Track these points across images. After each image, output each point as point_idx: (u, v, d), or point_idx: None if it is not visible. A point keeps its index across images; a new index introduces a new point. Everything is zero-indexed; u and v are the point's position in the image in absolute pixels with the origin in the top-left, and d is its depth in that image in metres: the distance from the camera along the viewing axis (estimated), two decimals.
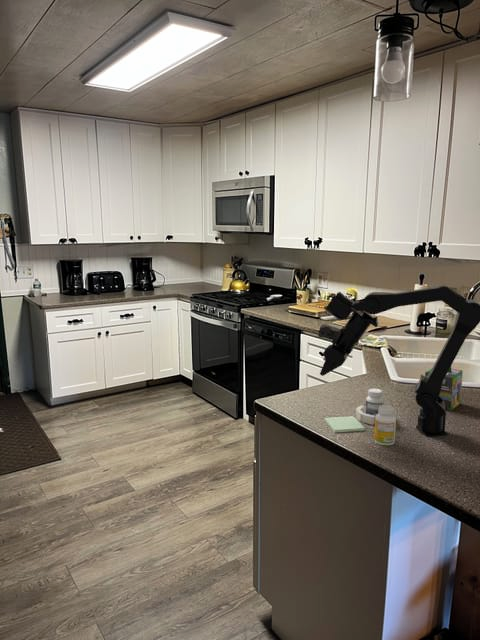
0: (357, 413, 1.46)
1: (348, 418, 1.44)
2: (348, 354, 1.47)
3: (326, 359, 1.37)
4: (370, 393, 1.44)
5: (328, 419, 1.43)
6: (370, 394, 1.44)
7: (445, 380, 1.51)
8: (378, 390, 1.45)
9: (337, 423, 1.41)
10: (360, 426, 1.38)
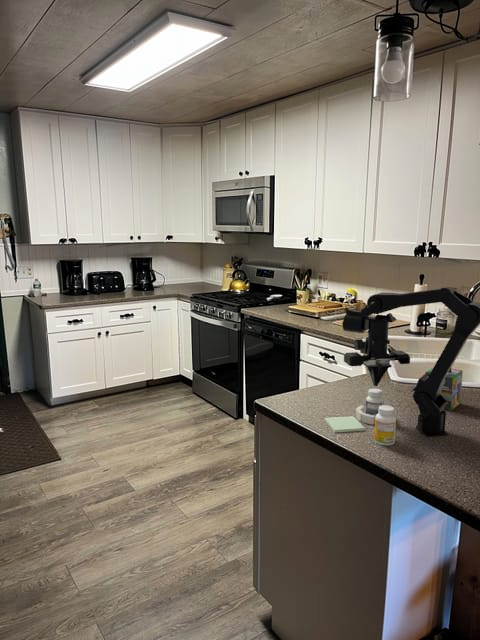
0: (357, 413, 1.46)
1: (348, 418, 1.44)
2: (384, 366, 1.41)
3: (367, 367, 1.44)
4: (370, 393, 1.44)
5: (328, 419, 1.43)
6: (370, 394, 1.44)
7: (446, 380, 1.51)
8: (378, 390, 1.45)
9: (337, 423, 1.41)
10: (360, 426, 1.38)
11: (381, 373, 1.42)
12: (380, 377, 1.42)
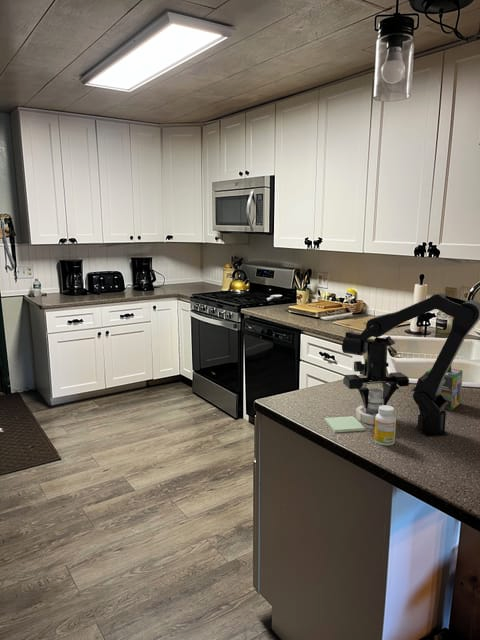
0: (357, 413, 1.46)
1: (348, 418, 1.44)
2: (392, 388, 1.42)
3: None
4: (370, 393, 1.44)
5: (328, 419, 1.43)
6: (370, 394, 1.44)
7: (445, 380, 1.51)
8: (378, 390, 1.45)
9: (337, 423, 1.41)
10: (360, 426, 1.38)
11: (388, 395, 1.43)
12: (387, 399, 1.44)
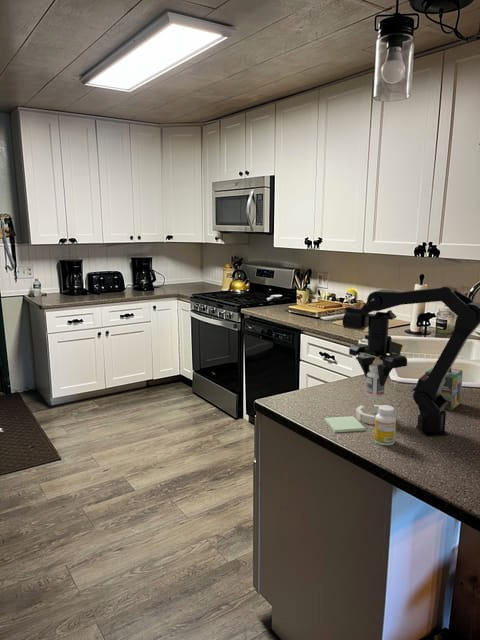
0: (357, 413, 1.46)
1: (348, 418, 1.44)
2: (378, 365, 1.38)
3: None
4: None
5: (328, 419, 1.43)
6: None
7: (445, 380, 1.51)
8: None
9: (337, 423, 1.41)
10: (360, 426, 1.38)
11: (379, 372, 1.40)
12: (380, 377, 1.40)
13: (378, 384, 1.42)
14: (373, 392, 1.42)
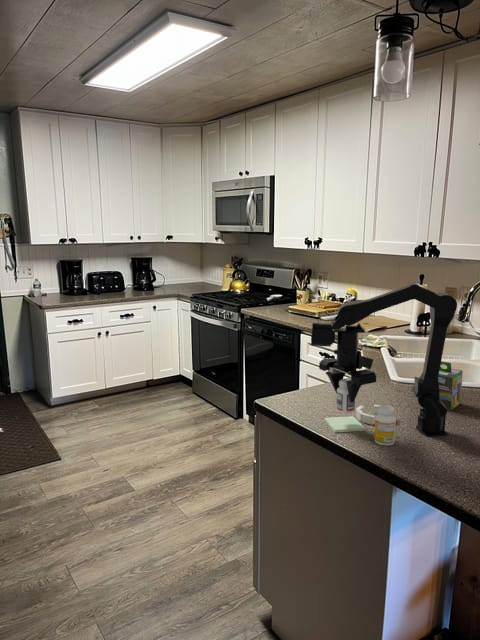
0: (357, 413, 1.46)
1: (348, 418, 1.44)
2: (347, 381, 1.33)
3: None
4: None
5: (328, 419, 1.43)
6: None
7: (445, 380, 1.51)
8: None
9: (337, 423, 1.41)
10: (360, 426, 1.38)
11: (348, 388, 1.35)
12: (349, 393, 1.35)
13: (348, 400, 1.37)
14: (343, 409, 1.38)
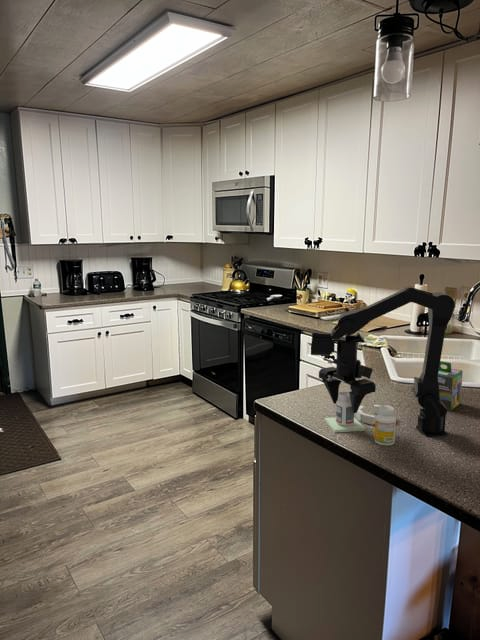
0: (357, 413, 1.46)
1: None
2: (350, 392, 1.33)
3: None
4: None
5: (328, 419, 1.43)
6: None
7: (445, 380, 1.51)
8: (347, 395, 1.38)
9: None
10: (360, 426, 1.38)
11: (351, 399, 1.34)
12: (352, 404, 1.34)
13: (347, 413, 1.38)
14: (342, 421, 1.38)
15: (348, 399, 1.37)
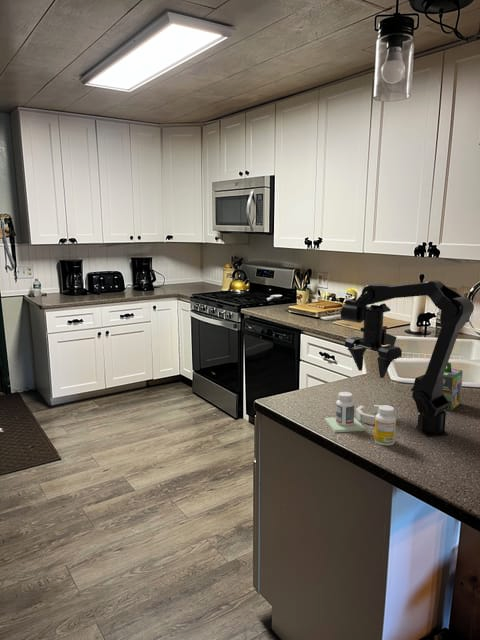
0: (357, 413, 1.46)
1: None
2: (379, 357, 1.41)
3: None
4: None
5: (328, 419, 1.43)
6: None
7: (445, 380, 1.51)
8: (347, 395, 1.38)
9: None
10: (360, 426, 1.38)
11: (379, 365, 1.43)
12: (380, 369, 1.43)
13: (347, 413, 1.38)
14: (342, 421, 1.38)
15: (348, 399, 1.37)
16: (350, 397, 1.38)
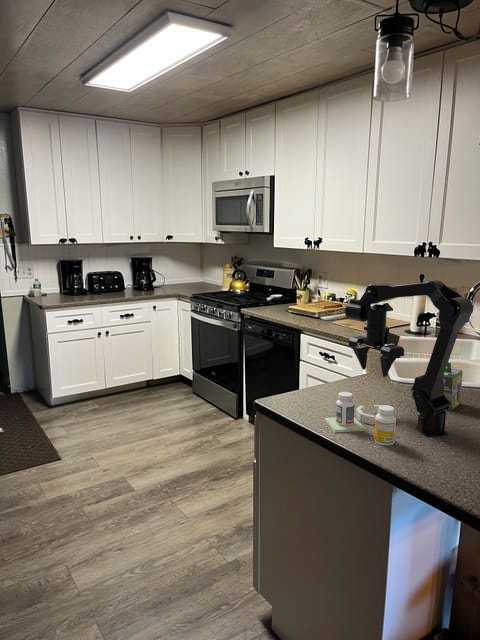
0: (357, 413, 1.46)
1: None
2: (381, 356, 1.43)
3: None
4: None
5: (328, 419, 1.43)
6: None
7: (445, 380, 1.51)
8: (347, 395, 1.38)
9: None
10: (360, 426, 1.38)
11: (381, 364, 1.44)
12: (382, 368, 1.44)
13: (347, 413, 1.38)
14: (342, 421, 1.38)
15: (348, 399, 1.37)
16: (350, 397, 1.38)
